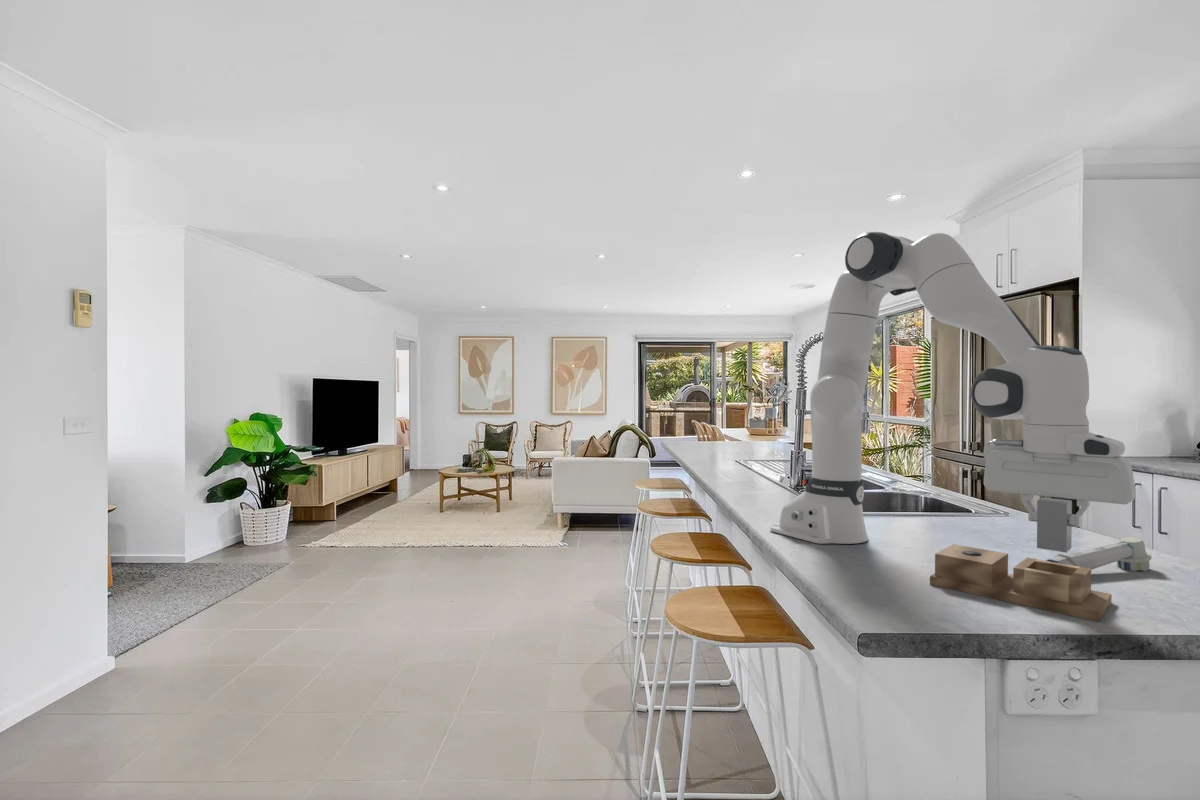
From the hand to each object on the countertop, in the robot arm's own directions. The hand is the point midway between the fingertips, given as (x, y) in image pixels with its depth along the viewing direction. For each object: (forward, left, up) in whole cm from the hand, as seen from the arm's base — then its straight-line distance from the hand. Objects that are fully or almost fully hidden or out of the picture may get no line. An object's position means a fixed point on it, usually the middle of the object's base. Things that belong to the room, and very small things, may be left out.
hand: (1054, 523), depth 102 cm
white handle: (+2, +26, -14) cm, 29 cm away
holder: (-5, 0, -13) cm, 14 cm away
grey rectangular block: (0, 0, -4) cm, 4 cm away
